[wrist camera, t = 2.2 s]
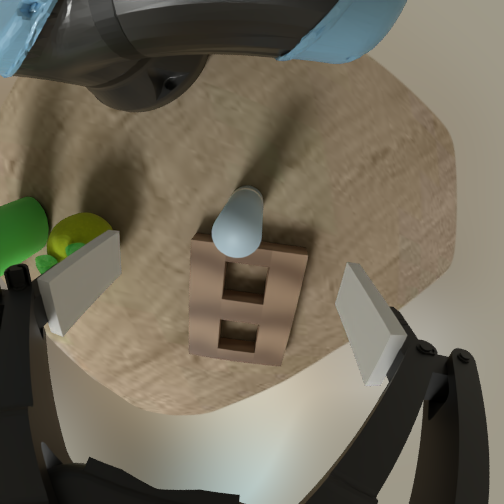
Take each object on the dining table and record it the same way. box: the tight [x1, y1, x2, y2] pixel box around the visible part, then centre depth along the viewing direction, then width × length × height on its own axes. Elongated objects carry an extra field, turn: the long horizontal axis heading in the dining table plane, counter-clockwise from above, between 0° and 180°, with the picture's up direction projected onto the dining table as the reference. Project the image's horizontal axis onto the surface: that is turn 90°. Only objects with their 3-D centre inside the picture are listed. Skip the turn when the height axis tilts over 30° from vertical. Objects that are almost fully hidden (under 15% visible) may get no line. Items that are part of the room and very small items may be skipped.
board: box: [189, 233, 308, 366], centre depth 35 cm, size 17×13×2 cm
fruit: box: [35, 212, 113, 274], centre depth 29 cm, size 9×9×10 cm
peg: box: [212, 186, 264, 258], centre depth 26 cm, size 4×4×12 cm
